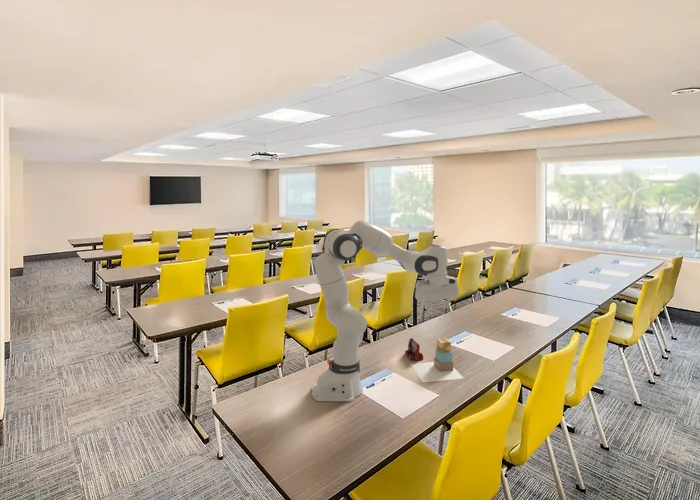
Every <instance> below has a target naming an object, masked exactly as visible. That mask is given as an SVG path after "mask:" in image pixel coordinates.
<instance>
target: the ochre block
mask: <svg viewBox="0 0 700 500" xmlns="http://www.w3.org/2000/svg"><path fill="white" fill-rule="evenodd" d="M436 339H437V340H436V348H437V349H438V350H439V351H440V352H441V353H445V352H452V341H450V340H449V339H448V337H447V338H446V337H445V338H444V337H443V338H436Z"/></svg>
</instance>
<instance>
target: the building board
mask: <svg viewBox="0 0 700 500" xmlns="http://www.w3.org/2000/svg"><path fill="white" fill-rule="evenodd" d="M409 366H410V367H411V368H412V370H413V371H414V372H415V373H416V375H417V377H418V378H419V379H420V380H421V382H422V383H423V384H424V383H431V382H442V381H451V380H461V379H464V377H463V375H461V373H460V372H459V371H458V370H457V369H456V368H454V362H453V361H452V362H448V363H440V362H439V361H438V360H437V359H436V358H435V357H433V361H431V362H430V361H429V362H420V363H410V364H409Z"/></svg>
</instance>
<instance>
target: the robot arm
mask: <svg viewBox="0 0 700 500" xmlns="http://www.w3.org/2000/svg"><path fill="white" fill-rule="evenodd" d="M322 243H323V244H322V249H321V250H322V253H321V254H320V255H318V256H317V257H316V258H315V261H314V268H315V273H316V277H317V278H316V279H317V280H318V283H319V286H320V290H321V292H322V295H323V298H324V301H325V302H324V303H325V316H326V318H327V320H328V321H329V323H330V324H332V325H333V326H334V327H335V328H336V330H337V335H336V336H337V337H336V340H334V342H333V345H332V348H333V349H332V351H333V352H332V353H333V355H332V356H333V359H332V358H328V359H326V362H327V364H328V368H327V369H326V370H325V371H323V372H322V373H320V374H319V375H318V378H317V380H316V383H314V384H313V385H312V388H311V395H312V398H313V399H314V400H315V401H317V402H352V401H353V400H354V399H355V398H356V397H359V396H360V395H361V394H362V393H363V391H364V390H363V386H362V383H361V378H360V370H361V363H360V359H359V346H360V344H359V343H360V339H361V336H362V335H363V334H364V333H365V332H366V329H367V327H368V321H367V319H366V317H365V316H364V315H363V314H362V312H361V311H359V310H358V309H356V308H354V307H353V306H352V305H351V303H350V300H349V294H350V287H349V284H348V281H347V278H346V276H345V274H344V269H343V267H342V261H351V260H353V259H355V258H356V256H357V255H358V253H359V252H360V251H361V250H362V249H364V250H366V251H367V252H369V253H372V254H374V255H377V256H383V257H384V256H387V257H389V258H391V259H393V260H394V261H397V263H399V265H400V266H401V267H402V269H403V270H405V271H409V272H412V273H414V274H417V275H419V276H427V279H423V280H421V279H420V280H418V281H416V282H415V293H414V298H415V299H416V300H417V301H419V302H422V304H423V305H424V309H425V310H429V309H430V305H429V304H427V302H428V301H434V300H437V301H439V300H446V302H445V303H443V308H444V309H448V308H449V305H450V303H451V302H452V300H454V299H458V298H459V296H460V295H459V291H460V290H459V286H458V284H457V283H458V279H457V278H455V277H454V276H451V275H448V270H447V267H448V260H449V259H448V251H447V248H446V247H445V246H443V245H439V244H430V245H429V246H428V247H427V248H426V249H424V250H423V251H417V250H414V249H410V248H409V249H406V248H405V249H404V248H403V247H401V246H399V245H397V244H395V243H394V238H393V236H392V234H390V233H389V232H387V231H386V230H385V229H383V228H381V227H379V226H377V225H375V224H374V223H370V222H367V221H364V220H357V221H355V223H353V225H352V226H351V228H350V229H349V230H347V231H345V230H342V229H340V228H333V229H331V230H329V231H328V232H326V233H325V235H324V237H323V242H322ZM332 325H331V326H332Z"/></svg>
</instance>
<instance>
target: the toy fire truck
mask: <svg viewBox="0 0 700 500" xmlns="http://www.w3.org/2000/svg"><path fill="white" fill-rule="evenodd" d="M420 350H421V349H420V344H419V343H418V342H417V341H416V340H415V339H414V338H409V340H408V345H407V349H405V351H404V354H405V356H406V357H407V358H408V360H409V361H410V362H414V360H415V361H422V360H424V355H423V353H422V352H420Z"/></svg>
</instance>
